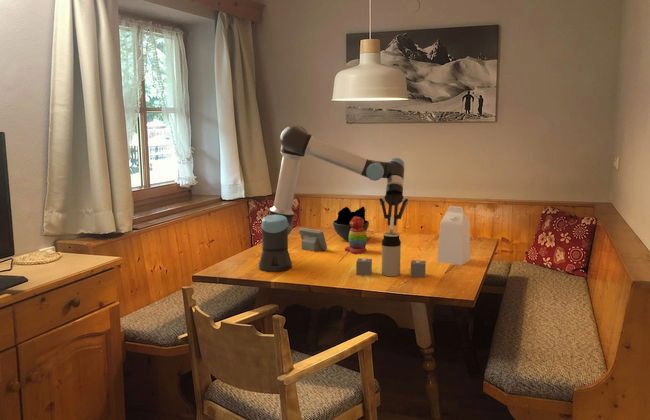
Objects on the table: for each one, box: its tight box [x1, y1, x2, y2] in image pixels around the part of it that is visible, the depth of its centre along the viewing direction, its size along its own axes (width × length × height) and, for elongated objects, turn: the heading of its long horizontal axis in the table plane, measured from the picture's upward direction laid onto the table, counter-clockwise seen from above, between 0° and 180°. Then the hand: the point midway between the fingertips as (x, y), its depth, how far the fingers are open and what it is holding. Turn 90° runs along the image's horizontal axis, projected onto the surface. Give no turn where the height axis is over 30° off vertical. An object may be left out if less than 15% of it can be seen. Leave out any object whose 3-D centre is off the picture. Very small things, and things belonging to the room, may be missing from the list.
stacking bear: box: [344, 216, 368, 255], centre depth 298 cm, size 11×10×18 cm
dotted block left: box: [355, 257, 373, 277], centre depth 256 cm, size 6×6×6 cm
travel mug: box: [381, 231, 402, 278], centre depth 253 cm, size 8×8×18 cm
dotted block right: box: [410, 259, 427, 279], centre depth 252 cm, size 6×6×6 cm
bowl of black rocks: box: [332, 206, 370, 241], centre depth 326 cm, size 20×20×19 cm
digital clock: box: [299, 227, 328, 252], centre depth 304 cm, size 16×9×11 cm, turn 38°
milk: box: [436, 205, 471, 266], centre depth 276 cm, size 12×12×26 cm
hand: (391, 231), depth 251 cm, fingers closed
